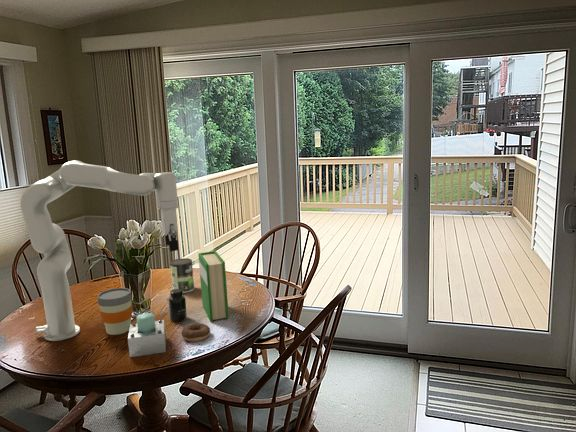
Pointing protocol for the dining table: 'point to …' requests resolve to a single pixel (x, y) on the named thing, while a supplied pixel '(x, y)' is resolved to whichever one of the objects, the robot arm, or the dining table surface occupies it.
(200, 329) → the donut
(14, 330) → the dining table surface
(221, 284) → the hardback book
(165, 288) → the dining table surface
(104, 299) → the reusable coffee cup
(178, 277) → the coffee can
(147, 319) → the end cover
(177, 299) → the supplement bottle
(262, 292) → the dining table surface
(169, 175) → the robot arm
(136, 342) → the housing
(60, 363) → the dining table surface
